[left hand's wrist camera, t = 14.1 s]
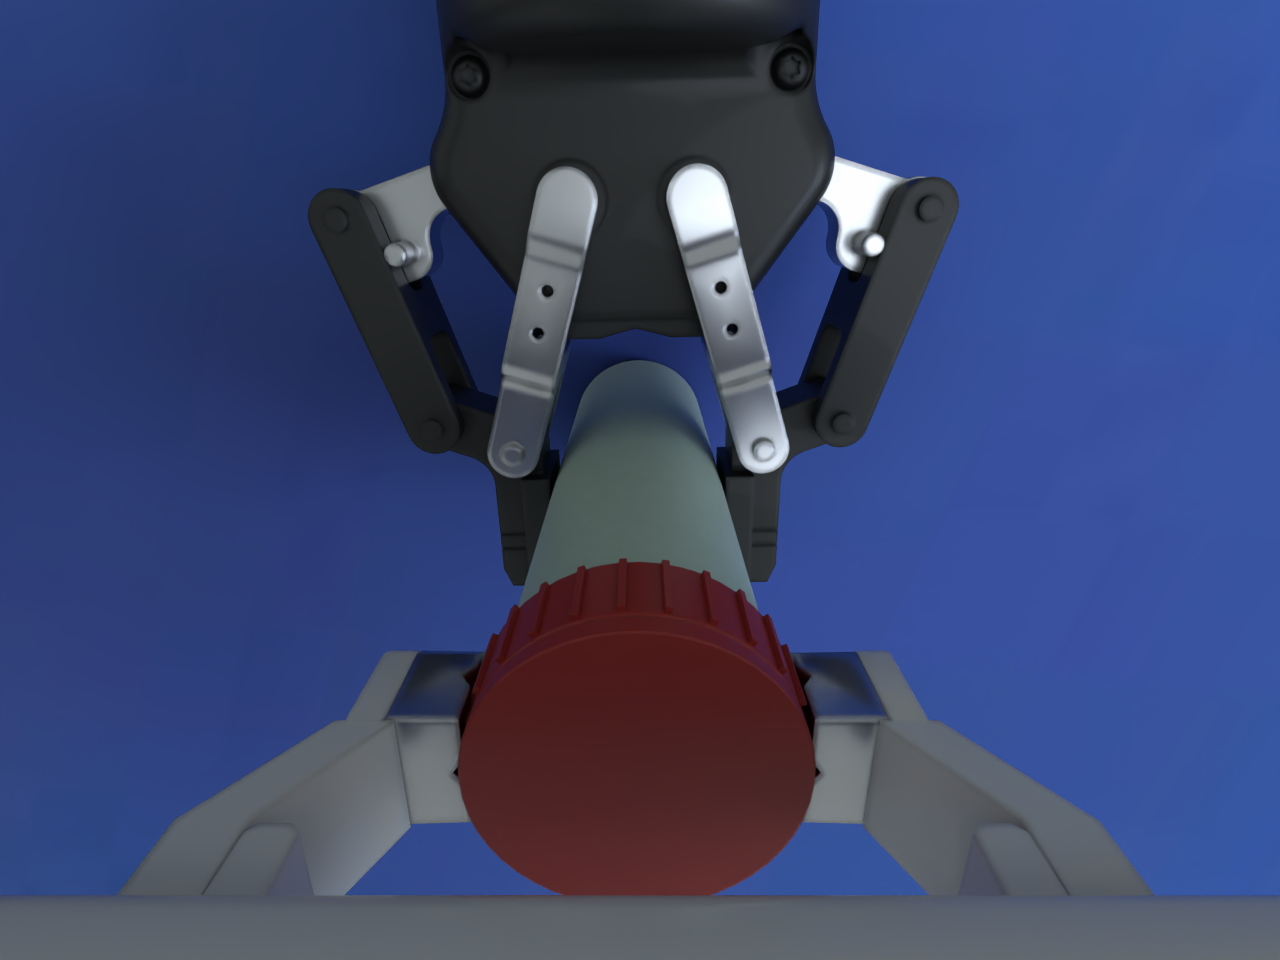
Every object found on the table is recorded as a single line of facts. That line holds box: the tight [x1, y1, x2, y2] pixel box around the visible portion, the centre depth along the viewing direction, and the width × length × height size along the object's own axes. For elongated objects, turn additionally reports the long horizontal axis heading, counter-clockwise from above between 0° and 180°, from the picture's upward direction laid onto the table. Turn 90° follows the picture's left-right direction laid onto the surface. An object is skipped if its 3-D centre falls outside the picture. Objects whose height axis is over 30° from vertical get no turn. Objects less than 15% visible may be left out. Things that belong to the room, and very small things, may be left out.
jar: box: [518, 360, 759, 612], centre depth 17 cm, size 4×4×16 cm
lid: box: [458, 558, 816, 895], centre depth 10 cm, size 5×5×2 cm
